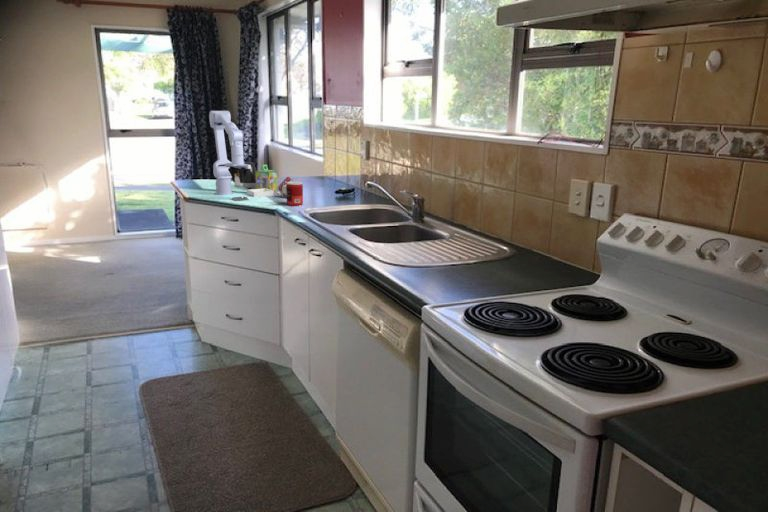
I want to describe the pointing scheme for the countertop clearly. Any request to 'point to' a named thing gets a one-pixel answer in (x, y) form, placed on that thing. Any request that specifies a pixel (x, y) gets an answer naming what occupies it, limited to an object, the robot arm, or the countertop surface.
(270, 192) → the parts tray
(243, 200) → the socket seat
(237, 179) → the silver cylinder copper tab
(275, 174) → the chalk box
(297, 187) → the canned food
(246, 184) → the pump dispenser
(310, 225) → the countertop surface
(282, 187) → the brake caliper
